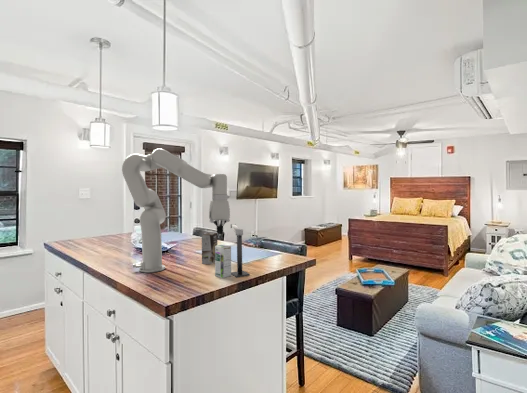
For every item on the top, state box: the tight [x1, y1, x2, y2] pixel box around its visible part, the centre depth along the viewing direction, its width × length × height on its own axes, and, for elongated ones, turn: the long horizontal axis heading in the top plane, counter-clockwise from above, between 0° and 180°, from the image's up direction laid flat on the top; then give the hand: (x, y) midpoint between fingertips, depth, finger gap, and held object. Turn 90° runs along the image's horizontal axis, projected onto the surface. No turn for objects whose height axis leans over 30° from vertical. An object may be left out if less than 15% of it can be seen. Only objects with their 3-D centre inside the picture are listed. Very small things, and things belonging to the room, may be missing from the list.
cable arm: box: [230, 223, 244, 236], centre depth 162 cm, size 27×4×2 cm, turn 12°
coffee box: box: [201, 232, 218, 265], centre depth 178 cm, size 9×6×16 cm
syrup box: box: [214, 244, 232, 279], centre depth 150 cm, size 6×6×14 cm
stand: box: [231, 235, 250, 278], centre depth 151 cm, size 7×7×19 cm
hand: (219, 233), depth 163 cm, fingers closed
